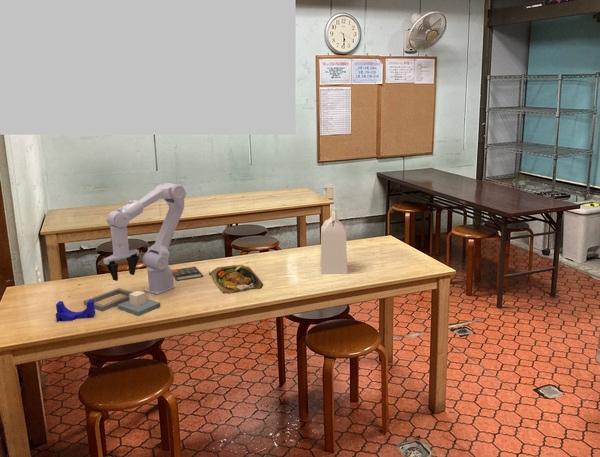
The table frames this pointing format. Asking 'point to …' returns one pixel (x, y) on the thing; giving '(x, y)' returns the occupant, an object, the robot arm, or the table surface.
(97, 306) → the pocket frame
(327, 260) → the milk
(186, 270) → the calculator
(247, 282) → the prepared meal
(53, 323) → the table surface
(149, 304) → the slate pad
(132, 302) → the cream block
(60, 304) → the cable clip
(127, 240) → the robot arm
